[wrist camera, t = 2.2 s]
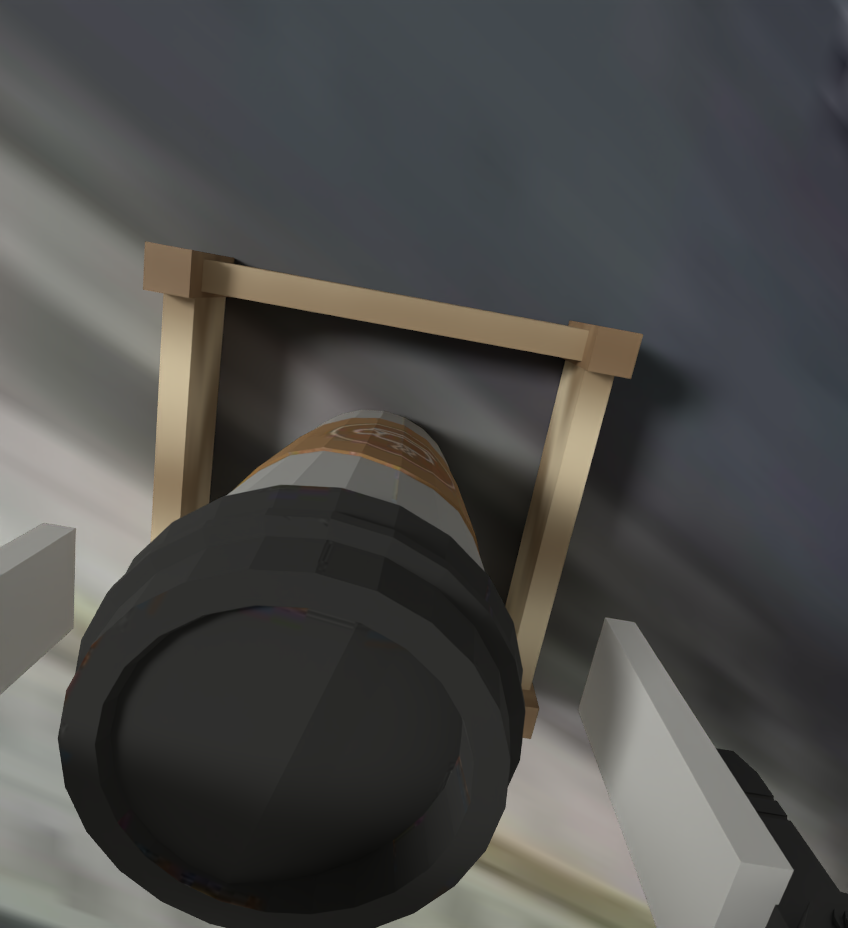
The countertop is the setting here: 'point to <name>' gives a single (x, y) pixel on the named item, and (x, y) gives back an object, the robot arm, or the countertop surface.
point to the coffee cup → (302, 692)
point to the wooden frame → (581, 345)
